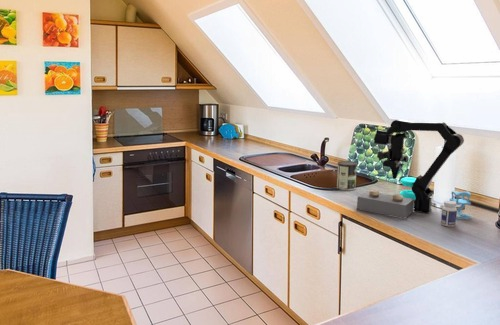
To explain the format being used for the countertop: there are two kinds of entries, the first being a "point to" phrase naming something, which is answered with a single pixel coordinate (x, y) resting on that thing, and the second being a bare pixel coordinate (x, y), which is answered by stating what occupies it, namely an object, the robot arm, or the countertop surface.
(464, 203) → the chair
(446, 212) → the pill bottle
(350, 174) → the coffee can
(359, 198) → the housing
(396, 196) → the near cap
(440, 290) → the countertop surface
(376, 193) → the far cap
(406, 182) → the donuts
